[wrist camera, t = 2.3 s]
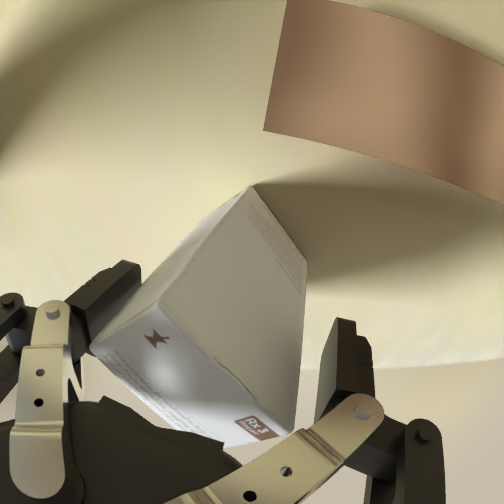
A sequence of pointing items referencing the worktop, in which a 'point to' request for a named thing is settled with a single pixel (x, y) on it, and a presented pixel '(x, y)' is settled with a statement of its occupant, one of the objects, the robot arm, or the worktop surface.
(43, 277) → the worktop surface
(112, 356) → the skincare box
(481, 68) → the walnut ledge
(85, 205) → the worktop surface
